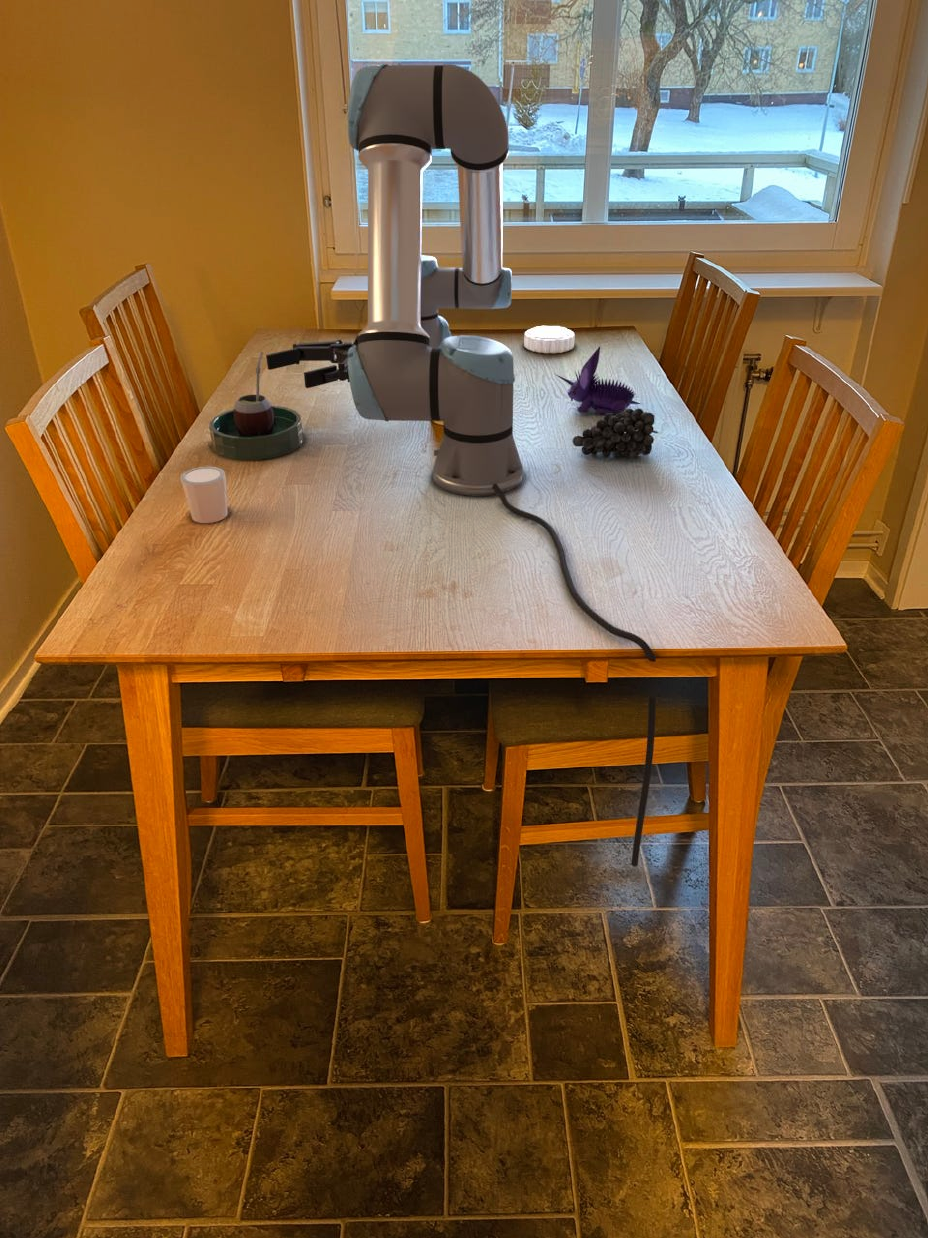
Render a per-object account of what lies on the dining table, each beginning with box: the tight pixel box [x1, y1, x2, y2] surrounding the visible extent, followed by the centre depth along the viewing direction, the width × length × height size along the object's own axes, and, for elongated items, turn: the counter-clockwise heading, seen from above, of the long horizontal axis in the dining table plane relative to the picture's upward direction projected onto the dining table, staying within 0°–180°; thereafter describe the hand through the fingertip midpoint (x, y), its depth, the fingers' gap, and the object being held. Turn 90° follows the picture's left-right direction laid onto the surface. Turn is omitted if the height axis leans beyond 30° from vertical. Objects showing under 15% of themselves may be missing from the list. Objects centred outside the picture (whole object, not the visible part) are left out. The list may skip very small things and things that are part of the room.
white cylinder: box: [179, 466, 229, 524], centre depth 147 cm, size 7×7×7 cm
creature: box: [554, 345, 642, 415], centre depth 184 cm, size 9×18×12 cm, turn 80°
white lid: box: [523, 325, 576, 354], centre depth 222 cm, size 12×12×4 cm
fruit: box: [572, 408, 659, 459], centre depth 167 cm, size 9×8×15 cm
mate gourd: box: [233, 351, 274, 437], centre depth 170 cm, size 8×8×15 cm
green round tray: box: [209, 405, 304, 461], centre depth 173 cm, size 17×17×4 cm
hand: (286, 371), depth 172 cm, fingers open, 13 cm apart
